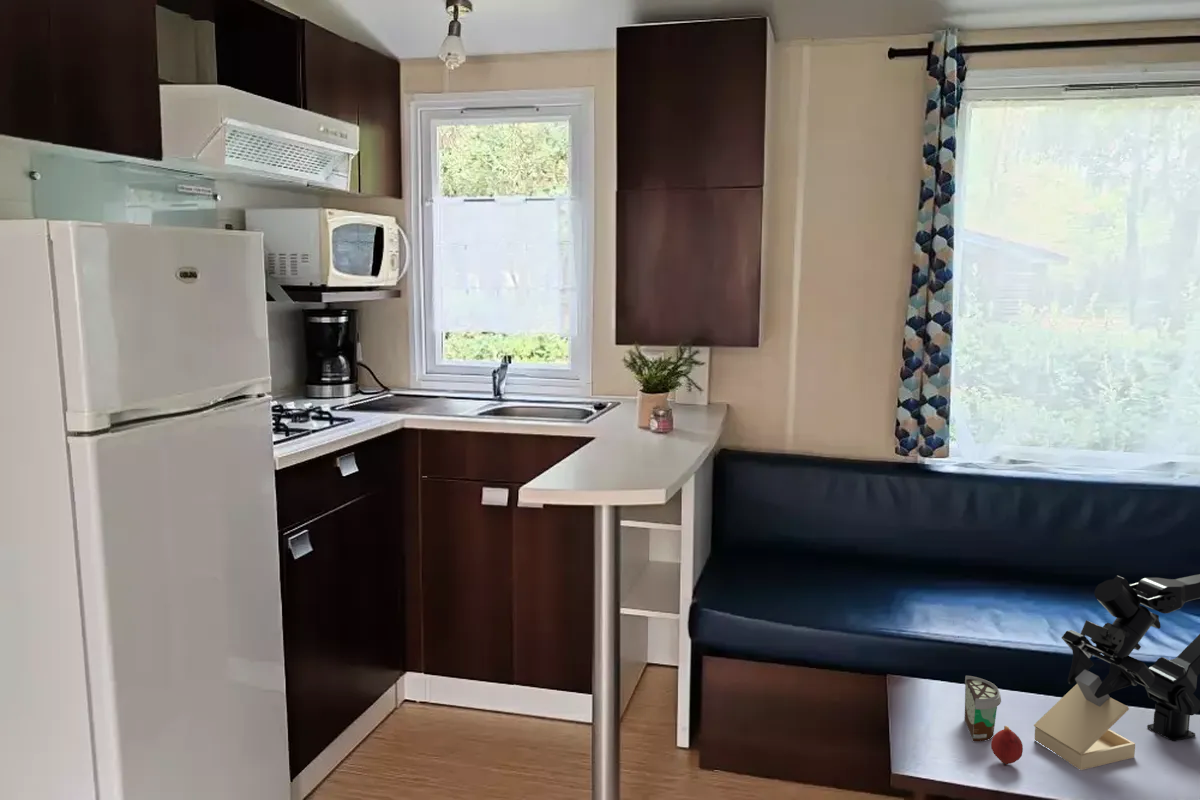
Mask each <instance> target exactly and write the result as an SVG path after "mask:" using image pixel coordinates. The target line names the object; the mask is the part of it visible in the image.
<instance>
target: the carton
mask: <svg viewBox="0 0 1200 800" xmlns="http://www.w3.org/2000/svg"><path fill="white" fill-rule="evenodd" d="M1034 739H1035V740H1036V741H1038V742H1039V743H1041V744H1042V745H1044V746H1045V747H1047V748H1049V749H1050V750H1052V751H1053V752H1055V753H1056V754H1057V755H1059V756H1061V757H1062V758H1063V759H1065V760H1066V761H1065V760H1064V761H1065V762H1067V761H1068V762H1069V763H1068V762H1067V763H1068V764H1070V765H1071V764H1072V765H1071V766H1073V767H1075V768H1076V767H1077V768H1076V769H1078V770H1079V769H1080V770H1079V771H1083V770H1088V769H1092V768H1096V767H1100V766H1104V765H1109V764H1112V763H1117V762H1121V761H1126V760H1129V759H1133V758H1135V753H1136V743H1135V742H1133V741H1132V740H1129V739H1128V738H1126V737H1124V736H1122V735H1120V734H1118V733H1117V732H1115V731H1114V730H1112V729H1110V728H1109V729H1108V730H1107V731H1106V732H1105V733H1104V734H1103V735H1102V736H1101V737H1100V738H1099V739H1098V740H1097V741H1096V742H1095V743H1094V744H1093V745H1092V746H1091V747H1090V748H1089V749H1088V750H1087V751H1086V752H1085V753H1084V754H1083V755H1082V756H1081V755H1080V754H1078V753H1076V752H1075V751H1073V750H1071V749H1070V748H1068V747H1066V746H1065V745H1063V744H1061V743H1060V742H1058V741H1056V740H1055V739H1053V738H1051V737H1050V736H1048V735H1046V734H1045V733H1043V732H1042V731H1040V730H1038V729H1037V728H1035V727H1034ZM1057 755H1056V756H1057ZM1059 756H1058V757H1059ZM1062 758H1061V759H1062ZM1063 759H1062V760H1063Z"/></svg>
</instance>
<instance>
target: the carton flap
mask: <svg viewBox="0 0 1200 800" xmlns="http://www.w3.org/2000/svg"><path fill="white" fill-rule="evenodd" d="M1075 680H1076V681H1075V683H1076V684H1075V685H1074V686H1073V687H1072V688H1071V689H1070V690H1069V691H1068V692H1067V693H1066V694H1064V695H1063V696H1062V698H1060V700H1058V701H1057V702H1056V703H1055V704H1054V705H1052V707H1051V708H1049V709H1048V711H1047V712H1046V713H1045V714H1044V715H1043V716H1041V717H1040V718H1039V719H1038V720H1037V721H1036V722H1035V723H1034V724H1033V727H1034V729H1035V728H1037V729H1038V730H1040V731H1042V732H1043V733H1045V734H1046V735H1048V736H1050V737H1051V738H1053V739H1055V740H1056V741H1058V742H1060V743H1061V744H1063V745H1065V746H1066V747H1068V748H1070V749H1071V750H1073V751H1075V752H1076V753H1078V754H1080V755H1081V756H1082V755H1083V754H1084V753H1085V752H1086V751H1087V750H1088V749H1089V748H1090V747H1091V746H1092V745H1093V744H1094V743H1095V742H1096V741H1097V740H1098V739H1099V738H1100V737H1101V736H1102V735H1103V734H1104V733H1105V732H1106V731H1107V730H1108V729H1110V728H1111V727H1112V726H1114V725H1115V724H1116V723H1117V722H1118V720H1120V719H1121V718H1122V717H1123V716H1124V715H1125V714H1126V713H1127V712H1128V711H1129V710H1130V708H1129V706H1128V705H1126V704H1124V703H1122V702H1120V701H1118V700H1116V699H1114V698H1112V697H1110V695H1109V694H1107V695H1105V696H1102V697H1100V698H1096V697H1095V696H1094V694H1095V692H1096V690H1097V689H1098V687H1099V686H1100V685H1101V683H1102V682H1103V680H1102V679H1101V678H1100V676H1099V675H1097V674H1095V673H1093V672H1091V671H1089V670H1085V669H1084V670H1083V671H1082V672H1081V673H1080V674H1079V675H1078V676H1077V677H1076V678H1075Z"/></svg>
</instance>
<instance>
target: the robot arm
mask: <svg viewBox="0 0 1200 800" xmlns="http://www.w3.org/2000/svg"><path fill="white" fill-rule="evenodd" d="M1093 593H1094V597H1095V598H1096V600H1097V601H1098V602H1099V603H1100V604H1101V605H1102V607H1104V609H1106V611H1107V612H1108V613H1109V614H1110V615H1111V616H1112V617H1114V618H1116V619H1114V621H1113V622H1112V623H1110V622H1107V623H1104V625H1103V626H1102V625H1099V624H1096V623H1094V622H1091V621H1089V620H1085V622H1084V624H1083V627H1082V630H1081V632H1080V633H1079V632H1077V631H1075V630H1073V629H1068V630H1066V631H1065V632H1064V634H1062V636H1061V640H1062V641H1063V643H1065V644H1066V645H1067V646H1068V647H1069V648H1070V650H1071V651H1072V662H1071V666H1070V670H1069V673H1068V678H1067V682H1068V684H1069V685H1073V684H1074V683H1076V680H1075V678H1076V677H1077V676H1078V675H1079V674H1080V673H1081V672H1082V671H1083V670H1084V669H1085V670H1087V671H1089V670H1090V668H1091V667H1093V666H1094V665H1095V664H1094V662H1093V661H1092V659H1091V658H1092V657H1093V656H1094V657H1096V658H1097V659H1100V660H1102V661H1104V662H1105V663H1106V662H1107V663H1109V664H1110V666H1109V671H1108V672H1109V673H1108V674H1107V675H1106V676H1105V678H1104V679H1103V680H1102V683H1101V685H1100V686H1099V687H1098V689H1097V690H1096V692H1095V694H1094V696H1095V697H1096V698H1100V697H1102V696H1105V695H1107V694H1108V695H1109V694H1111V693H1113V692H1116V691H1119V690H1121V689H1124V688H1127V687H1129V686H1133V687H1136V686H1138V685H1141V686H1143V687H1144V688H1145V690H1146V693H1147V696H1148V698H1149V699H1152V700H1153V701H1156V702H1157V703H1155V707H1154V709H1155V710H1154V712H1153V723H1151V724H1147V726H1146V728H1147V729H1150V730H1151V731H1153V732H1155V733H1157V734H1159V736H1160V735H1161V736H1162V737H1165V738H1167V739H1168V740H1170V741H1172V742H1177V741H1180V740H1185V739H1190V738H1193V737H1195V736H1196V733H1195V732H1193V731H1192V730H1189V729H1190V721H1191V719H1190V717H1191V716H1195V715H1194V714H1197V713H1199V712H1200V699H1198V698H1197V696H1196V695H1195V694H1194V693H1195V692H1196V690H1197V684H1198V683H1197V682H1198V676H1199V675H1200V633H1199V634H1198V635H1197V636H1196V637H1195V638H1194V639H1193V640H1192V641H1191V642H1190V643H1189V644H1188V645H1187V646H1186V647H1185V648H1184V649H1183V650H1182V651H1180V653H1179V654H1178V655H1177V656H1176V657H1175V658H1173V659H1167V658H1165V657H1164V656H1161V657H1159V658H1157V660H1156V661H1155V662H1154V663H1153V665H1151V666H1149V667H1148V666H1147V665H1146V664H1145V662H1143V661H1141V660H1139V659H1137V658H1135V657H1133V656H1130V655H1131V653H1132V652H1133V650H1136V651H1140V649H1141V648H1142V646H1141V645H1140V644H1139V643H1140V641H1141V640H1142V639H1143V637H1144V636H1145V635H1146V633H1148V631H1149V629H1150V628H1151V627H1153V628H1155V629H1158V630H1159V629H1161V628H1162V627H1161V622H1160V619H1159V618H1160V616H1159V614H1156V613H1154V612H1151V611H1150V610H1149V609H1152V610H1154V611H1156V612H1159V613H1162V614H1170V613H1172V612H1175V611H1177V610H1180V609H1182V608H1183V607H1184V604H1185V603H1187V602H1190V601H1194V600H1199V599H1200V573H1199V574H1194V575H1189V576H1184V577H1179V578H1175V579H1173V578H1172V579H1171V578H1163V577H1144V578H1141V579H1140V580H1139V581H1138V582H1135V583H1129V582H1128V580H1127V579H1126V578H1125V577H1122V576H1120V575H1116V576H1115V577H1114V578H1113V579H1106V580H1104V581H1102V582H1101V583H1099V584H1097V586H1095V590H1094V592H1093ZM1087 637H1089V638H1090V640H1089V639H1088V638H1087ZM1092 643H1093V644H1095V645H1093V644H1092Z"/></svg>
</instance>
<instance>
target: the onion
mask: <svg viewBox="0 0 1200 800" xmlns="http://www.w3.org/2000/svg"><path fill="white" fill-rule="evenodd" d="M1003 727H1004V728H1003V729H1001V730H999V731H997V732H996V733H995V734H993V737H992V738H991V741H990V742H991V743H990V747H991V748H990V749H991V751H992V753H993V754H994V756H995V757H996V758H997V759H998V760H999V761H1000V762H1001V763H1002V764H1003V763H1005V764H1004V765H1006V764H1007V765H1011V764H1013V763H1015V762H1017V761H1019V760H1020V759H1021V757H1022V756H1023V753H1024V752H1023V751H1024V748H1023V743H1022V740H1021V739H1020V737H1019V736H1018V734H1016V733H1015V732H1014V731H1012V730H1011V729H1010V727H1009V726H1008V725H1004V726H1003Z"/></svg>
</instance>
